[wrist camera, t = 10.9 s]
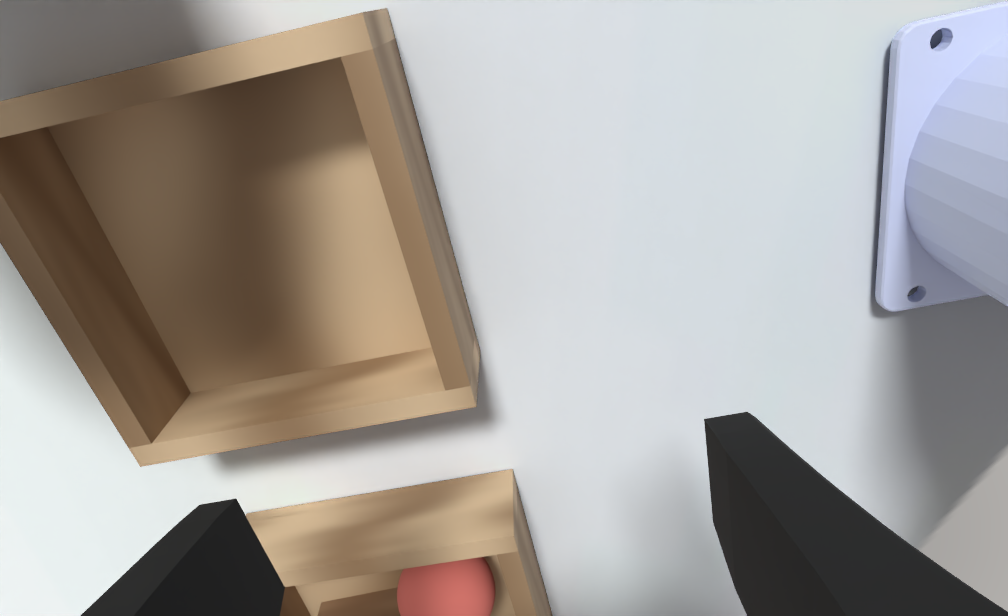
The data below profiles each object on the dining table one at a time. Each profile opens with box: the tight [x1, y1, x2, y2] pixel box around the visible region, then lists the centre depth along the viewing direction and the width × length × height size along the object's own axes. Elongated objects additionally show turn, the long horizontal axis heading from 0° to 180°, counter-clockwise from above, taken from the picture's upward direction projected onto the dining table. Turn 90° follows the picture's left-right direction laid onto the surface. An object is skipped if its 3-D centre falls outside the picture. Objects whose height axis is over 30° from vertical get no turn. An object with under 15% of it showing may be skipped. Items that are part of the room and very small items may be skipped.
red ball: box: [397, 557, 495, 616], centre depth 22 cm, size 3×3×3 cm
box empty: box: [0, 8, 480, 467], centre depth 17 cm, size 10×10×3 cm
